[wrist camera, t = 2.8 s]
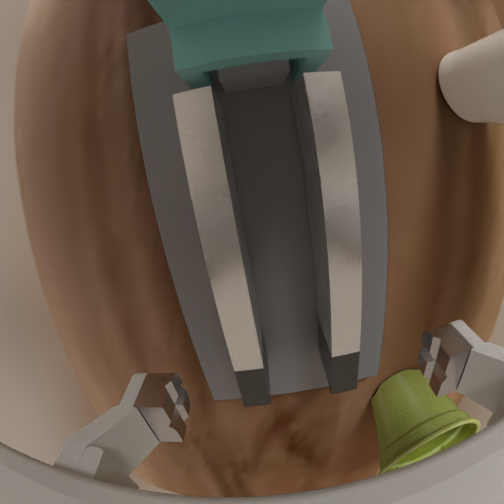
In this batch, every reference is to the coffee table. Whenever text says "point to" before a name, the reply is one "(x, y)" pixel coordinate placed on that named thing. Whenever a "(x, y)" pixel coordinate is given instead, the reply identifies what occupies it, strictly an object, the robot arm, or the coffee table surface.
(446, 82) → the white cup
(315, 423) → the coffee table surface
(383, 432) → the plant pot
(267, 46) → the collar
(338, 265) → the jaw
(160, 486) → the coffee table surface
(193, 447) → the coffee table surface
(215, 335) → the plate
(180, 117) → the jaw
